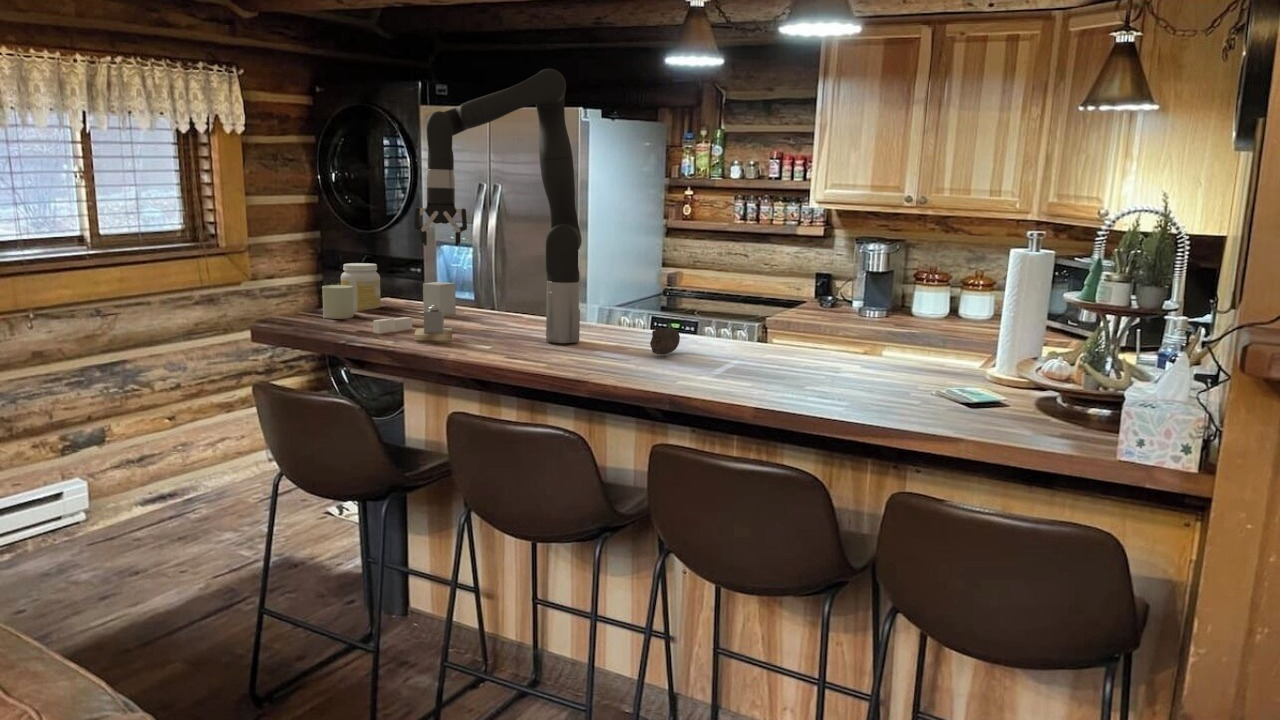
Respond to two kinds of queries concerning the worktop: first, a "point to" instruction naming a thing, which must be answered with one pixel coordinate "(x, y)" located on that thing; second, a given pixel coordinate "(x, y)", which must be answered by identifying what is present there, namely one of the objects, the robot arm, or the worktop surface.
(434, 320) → the block
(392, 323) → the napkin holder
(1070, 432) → the worktop surface
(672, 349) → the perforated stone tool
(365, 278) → the supplement tub
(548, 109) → the robot arm
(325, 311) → the can
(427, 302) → the supplement box
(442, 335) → the stand
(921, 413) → the worktop surface
